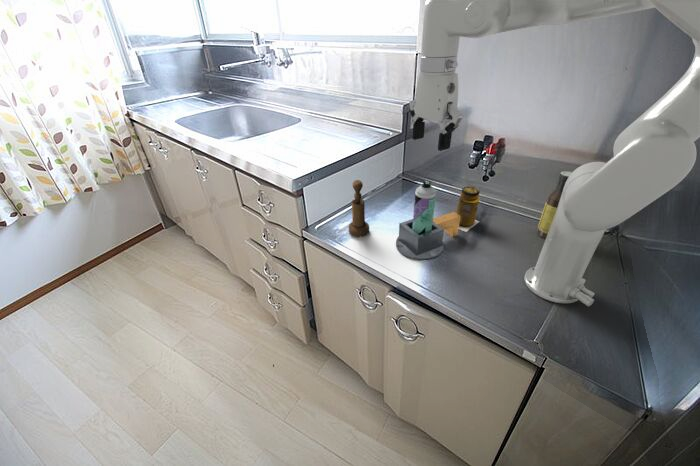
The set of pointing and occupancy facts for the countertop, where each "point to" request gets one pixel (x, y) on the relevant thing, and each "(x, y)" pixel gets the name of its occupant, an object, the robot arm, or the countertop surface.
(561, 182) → the sauce bottle
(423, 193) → the spray can
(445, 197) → the countertop surface
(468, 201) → the condiment
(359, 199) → the brown wooden tall piece
